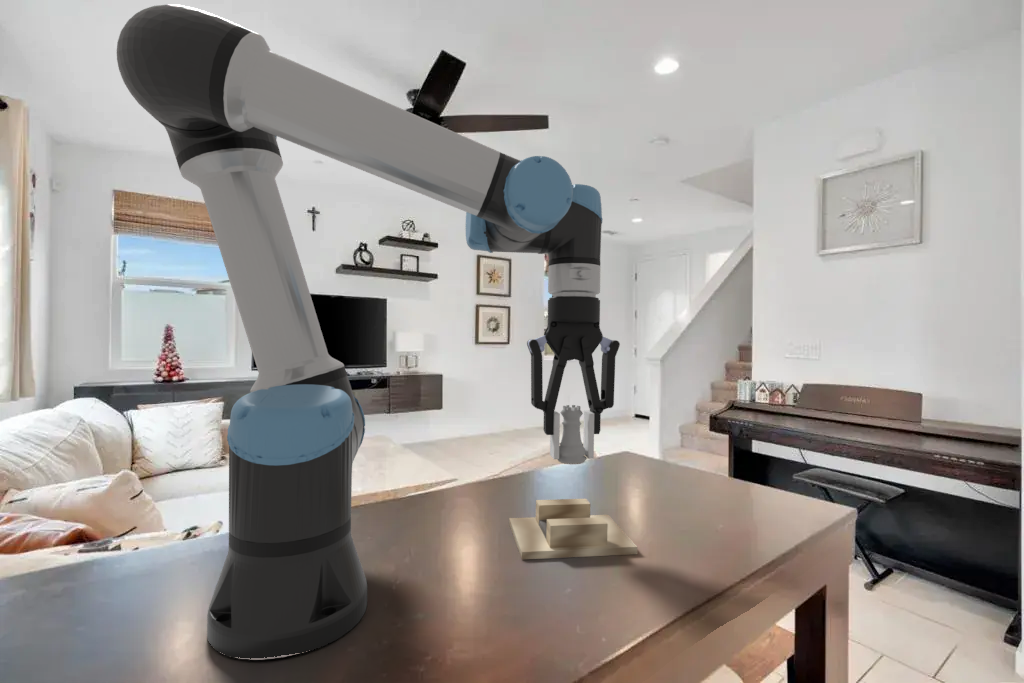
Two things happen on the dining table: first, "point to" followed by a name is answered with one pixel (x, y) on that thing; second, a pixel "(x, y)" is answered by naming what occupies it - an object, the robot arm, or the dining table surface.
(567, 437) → the rook chess piece
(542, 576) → the dining table surface
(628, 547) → the birch mount
